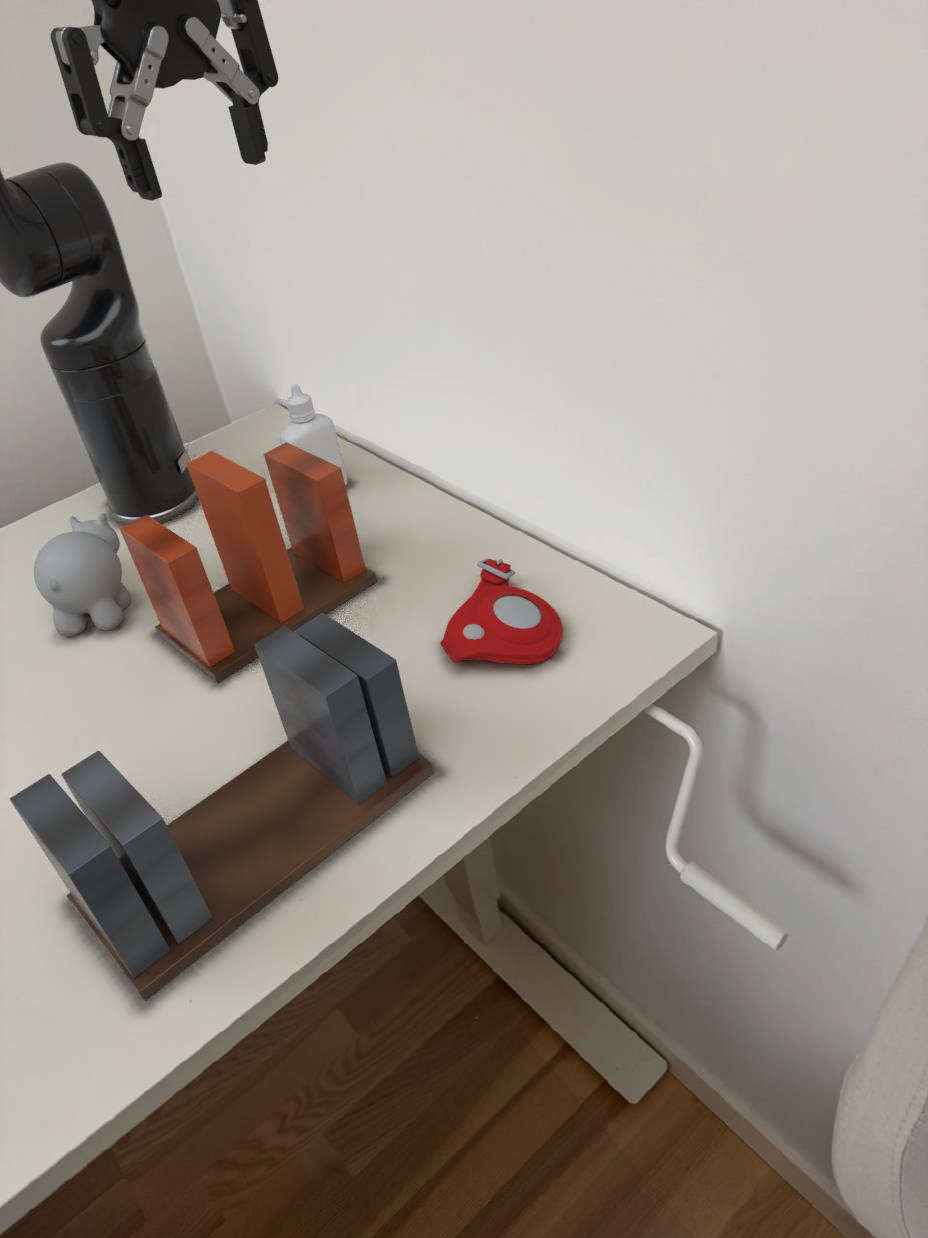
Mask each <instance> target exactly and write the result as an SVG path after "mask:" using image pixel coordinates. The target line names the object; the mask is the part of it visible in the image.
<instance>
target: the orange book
mask: <svg viewBox="0 0 928 1238" xmlns="http://www.w3.org/2000/svg"><path fill="white" fill-rule="evenodd" d="M186 464H187V467H188V470H189V472H190V475H191V478H192V481H193V484H194V486H195V489H196V492H197V495H198V501H199V503H200V506H201V508H202V512H203V514H204V517H205V520H206V523H207V525H208V527H209V528H208V529H209V531H210V533H211V536H212V539H213V542H214V545H215V547H216V550H217V554H218V557H219V558H220V562H221V565H222V567H223V570H224V573H225V575H226V578H227V582H228V584H230V587H231V590H233V591H234V592H236V593H237V594H239V595H240V596H242V597H243V598H245V599H246V600H248V601H249V602H250V603H252V604H253V605H255V606H256V607H258V608H259V609H261V610H262V611H264V612H265V613H267V614H268V615H270V616H271V617H273V618H274V619H275V620H277V621H278V622H280V623H283V622H285V621H286V620H288V619H290V618H291V617H293V616H294V615H296V614H297V613H299V612H301V611H302V610H304V605H303V602H302V599H301V596H300V592H299V589H298V586H297V582H296V579H295V576H294V572H293V569H292V566H291V563H290V559H289V556H288V553H287V549H288V548H287V546H286V543H285V540H284V537H283V533H282V529H281V527H280V524H279V520H278V516H277V513H276V510H275V508H274V507H275V506H274V504H273V500H272V496H271V493H270V490H269V487H268V484H267V481H266V478H265V477H263V476H261V475H259V474H258V473H255V472H253V471H251V470H249V469H247V468H246V467H244V466H242V465H240V464H238V463H236V462H235V461H232V460H230V459H229V458H227V457H225V456H223V455H221V454H220V453H217V452H215V451H213V450H210V451H208V452H206V453H204V454H202V455H199V456H198V457H196V458H194V459H192V460H191V461H190V462H188V463H186Z"/></svg>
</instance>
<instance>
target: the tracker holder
mask: <svg viewBox="0 0 928 1238" xmlns="http://www.w3.org/2000/svg"><path fill="white" fill-rule="evenodd" d="M476 565H477V567H478V568H481V571H480V575H479V576H480V581H479V583H478V585H477V587H476V588H475V590H474V591H473V593H472V594H471V595H470V596H469V598H467V599H466V600H465V601H464V602H463V603H462V604H461V605H460V607H459V608H458V609H457V610H456V611H455V612H454V613H453V614H452V616H451V617H450V619H449V621H448V623H447V625H446V628H445V630H444V634H443V638H442V640H440V642H439V645H440V647H441V648H442V649H443V651H444V652H445V653H446V655H447V656H448V657H449V658H450V660H451V662H452V663H454V664H457V663H459V662H460V661H463V660H465V661H478V660H479V661H482V660H483V661H491V662H495V663H501V664H513V665H514V664H516V665H533V664H538V663H542V662H544V661H546V660H548V659H550V658H551V657H552V656H553V655H554V654H555V653H556V652H557V651H558V649H559V648H560V643H561V642H562V641H561V640H562V637H563V630H564V629H563V623H562V620H561V618H560V616H559V614H558V612H557V611H556V610H555V608H554V607H553V606H552V605H551V604H550V603H549V602H548V601H546V600H545V599H544V598H542V597H540V595H537V594H535V593H533V592H531V591H530V590H527V589H524V588H519V587H516V586H510V578H512V577H513V576H515V574H516V571H515V570H513V569H511V567H512V564H509V563H507V562H504V560H503V559H502V558H501V559H498V560H496V559H492V558H488V557H486V558H483V559H482V560H479V561H477V563H476Z"/></svg>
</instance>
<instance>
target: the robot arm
mask: <svg viewBox="0 0 928 1238" xmlns="http://www.w3.org/2000/svg"><path fill="white" fill-rule="evenodd" d="M91 3H92V6H93V12H94V14H93V15H94V17H93V24H91V25H85V26H78V27H77V26H60V27H54V28H53V29H52V30H51V32H50V42H51V45H52V48H53V51H54V55H55V58H56V59H55V60H56V62H57V66H58V68H59V72H60V75H61V79H62V82H63V85H64V89H65V92H66V96H67V99H68V102H69V105H70V108H71V113H72V116H73V120H74V123H75V126H76V128H77V130H78V132H79V133H81V134H82V135H84V136H93V137H98V138H106V139H108V140H109V141H111V142H112V144H113V145H114V148H115V151H116V154H117V157H118V161H119V164H120V166H121V168H122V172H123V175H124V178H125V181H126V184H127V186H128V187H129V189H130V190H131V191H132V192H133V193H137V194H138V195H139V197H140V198H141V199H143V200H147V201H151V202H153V201H155V200H159V199H162V197H163V191H162V188H161V185H160V182H159V179H158V176H157V172H156V169H155V166H154V162H153V159H152V157H151V153H150V150H149V146H148V143H147V140H146V138H140V133H141V128H142V124H143V121H144V116H145V113H146V110H147V108H148V107H149V106H150V104H151V103H152V100H153V96H154V92H155V89H167V88H171V87H173V86H176V85H177V84H178V83H180V82H181V81H183V80H187V81H197V80H199V79H202V78H203V79H204V80H206V81H207V82H210V83H211V84H213V85H214V86H215V87H216V88H217V89H218V90H219V92H221V93H222V95H224V97H226V98H227V99H228V100H229V101H230V102H231V103H232V105H229V106H228V107H227V108H228V111H229V116H230V119H231V123H232V127H233V131H234V134H235V138H236V142H237V147H238V149H239V154H240V157H241V160H242V161H243V162H244V163H245V164H247V165H254V166H257V165H260V164H262V163H265V162H266V159H267V158H266V153H267V152H268V151H269V141H268V138H267V135H266V133H267V132H266V129H265V125H264V121H263V118H262V113H261V109H260V108H261V107H260V99H261V96H262V95H263V94H264V93H265V92H266V91H268V89H270V88H274V87H276V86H277V85H278V83H279V73H278V70H277V66H276V62H275V59H274V55H273V52H272V51H273V50H272V47H271V43H270V40H269V37H268V34H267V33H268V32H267V29H266V26H265V21H264V19H263V15H262V11H261V7H260V4H259V0H91ZM221 19H222V22H223V23H224V25H225V26H226V27H227V28H228V29H230V31H231V34H232V38H233V41H234V45H235V48H236V52H237V55H238V58H239V59H238V60H239V62H240V64H239V62H238V61H237V60H236V59H235V58H234V57H233V56H232V55H231V54H230V52H228V51H227V50H226V49H225V47H223V46H222V44H221V43H220V42H219V41H218V40H217V36H218V32H219V28H220V23H221ZM100 47H102V49H103V50H105V51H106V53H108V54H109V55H110V56H111V57H112V58H113V60H114V61H115V62H116V63H115V67H114V72H113V76H112V79H111V84H110V87H109V95H110V102H109V105H108V106H109V107H108V110H107V107H106V104H105V100H104V96H103V93H102V89H101V85H100V81H99V78H98V74H97V70H96V67H95V66H96V65H97V64H98V62H99V58H100V56H99V48H100ZM240 65H241V68H240ZM241 69H242V70H241ZM68 283H71V287H70V292H69V293H68V296H67V298H66V300H65V302H64V303H63V304H62V306H61V308H60V309H59V310H58V311H57V312H56V314H55V315H53V316H52V318H51V319H50V320H49V321H48V322H47V323H46V324H45V325H44V327H43V329H42V330H41V333H40V337H39V338H40V345H41V348H42V351H43V354H44V356H45V358H46V361H47V363H48V365H49V366H50V369H51V372H52V374H53V376H54V378H55V381H56V383H57V386H58V387H59V390H60V392H61V394H62V396H63V399H64V401H65V403H66V406H67V408H68V411H69V413H70V415H71V417H72V420H73V422H74V425H75V427H76V429H77V431H78V434H79V436H80V439H81V441H82V443H83V446H84V448H85V450H86V452H87V454H88V457H89V459H90V460H89V461H90V462H91V464H92V467H93V470H94V472H95V474H96V476H97V479H98V482H99V484H100V486H101V488H102V490H103V493H104V496H105V498H106V500H107V502H108V505H109V510H110V512H111V514H112V516H113V519H114V520H115V521H117V523H119V524H122V525H124V526H125V525H127V524H129V523H131V522H133V521H135V520H137V519H139V518H141V517H143V516H144V515H148V516H150V517H151V518H153V519H154V520H156V521H157V522H159V523H162V522H166V521H168V520H171V519H173V518H176V517H177V516H180V515H181V514H183V513H184V512H186V511H187V510H189V509H190V508H191V507H193V505H194V504H196V502H197V501H199V498H198V495H197V492H196V489H195V486H194V484H193V481H192V478H191V475H190V472H189V470H188V467H187V464H186V463H188V462H190V461H192V460H191V457H190V455H189V451H188V449H187V448H185V445H184V443H183V439H182V436H181V434H180V431H179V427H178V425H177V422H176V419H175V417H174V413H173V411H172V409H171V405H170V403H169V400H168V397H167V394H166V391H165V388H164V386H163V382H162V380H161V378H160V374H159V371H158V369H157V367H156V364H155V361H154V358H153V356H152V352H151V350H150V347H149V344H148V342H147V339H146V336H145V333H144V330H143V327H142V323H141V311H140V306H139V302H138V299H137V295H136V292H135V289H134V286H133V282H132V279H131V277H130V272H129V269H128V266H127V262H126V260H125V255H124V252H123V248H122V244H121V241H120V238H119V235H118V231H117V229H116V226H115V223H114V220H113V217H112V214H111V211H110V210H109V207H108V205H107V202H106V201H105V199H104V196H103V195H102V193H101V191H100V189H99V188H98V186H97V185H96V184H95V182H94V180H93V179H92V178H91V176H90V175H89V174H88V173H87V172H86V171H84V170H83V169H82V168H81V167H79V166H78V165H75V164H73V163H71V162H65V161H64V162H63V161H62V162H56V163H52V164H47V165H45V166H41V167H38V168H36V169H32V170H29V171H25V172H23V173H19V174H16V175H13V176H10V177H8V178H5V176H4V174H3V171H2V169H1V168H0V284H1V285H2V286H3V288H5V290H7V291H8V292H9V293H11V294H12V295H14V296H16V297H20V298H25V299H26V298H31V297H35V296H37V295H40V294H43V293H47V292H49V291H51V290H54V289H56V288H59V287H61V286H63V285H67V284H68Z"/></svg>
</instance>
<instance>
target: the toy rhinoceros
mask: <svg viewBox="0 0 928 1238" xmlns="http://www.w3.org/2000/svg"><path fill="white" fill-rule="evenodd" d="M69 524H70V527H71V529H72V531H67V532H63V533H60V534H57V535H56V536H53V537H52V538H50V539H49V540H48V541H46V543H45V544H44V545H43V546H42V547H41V548H40V550H39V551H38V552H37V555H36V557H35V560H34V564H33V579H34V583H35V586H36V589H37V590H38V592H39V594H40V596H42V597H43V599H44V600H45V601H46V602H47V603H49V604H50V605H51V606H52V609H53V611H52V620H53V626H54V628H55V630H56V632H57V633H58V634H59V635H61V636H62V637H72V636H75V635H78V634H80V633H82V632H83V631H85V629H86V627H87V620H86V618H85V616H87V615H89V616H90V618H91V621H92V622H93V624H94V625H95V627H96V628H98V629H99V630H101V631H102V630H103V631H110V630H112V629H114V628H116V627H117V626H119V625H120V624H121V622H122V621H123V620H124V612H123V609H125V608H126V607H127V606H129V605H130V603H131V599H132V598H131V594H130V591H129V590H128V588H127V587H126V586H125V584H124V583H123V582H122V578H123V569H122V562H121V560H120V558H119V555H118V552H119V550H120V545H121V541H120V538H119V536H118V533H117V531H116V530H115V529H114V528H113V526H111V525H110V523H109V521H108V517H107V514H106V513H105V512H102V513H100V515H99V516H98V518H97V519H89V520H86V521H80V520H78V519H77V518H76V517H75V516H73V515H71V516H70V517H69Z"/></svg>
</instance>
